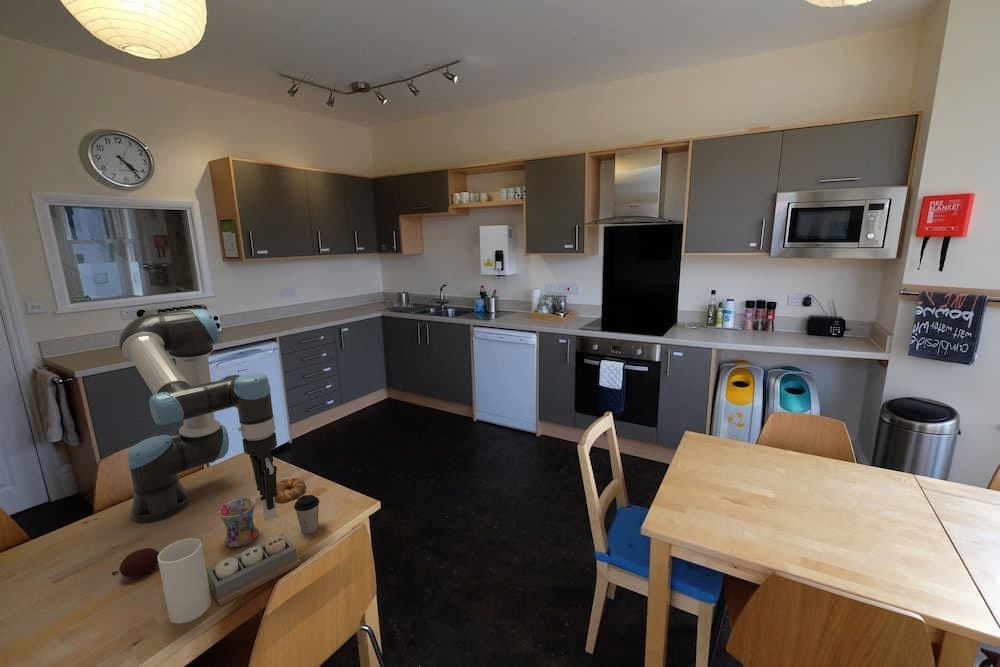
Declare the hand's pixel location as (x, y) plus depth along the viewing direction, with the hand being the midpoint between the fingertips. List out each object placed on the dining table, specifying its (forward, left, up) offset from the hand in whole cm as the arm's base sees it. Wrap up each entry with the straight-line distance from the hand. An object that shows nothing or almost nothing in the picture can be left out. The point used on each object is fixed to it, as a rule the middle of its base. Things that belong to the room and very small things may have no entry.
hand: (270, 518), depth 117 cm
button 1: (0, -11, -11) cm, 15 cm away
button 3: (0, 0, -11) cm, 11 cm away
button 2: (0, -6, -11) cm, 12 cm away
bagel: (-32, +15, -14) cm, 38 cm away
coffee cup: (-7, +12, -13) cm, 19 cm away
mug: (-18, -3, -13) cm, 23 cm away
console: (0, -6, -13) cm, 14 cm away
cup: (+2, -20, -13) cm, 24 cm away
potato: (-22, -26, -14) cm, 37 cm away
